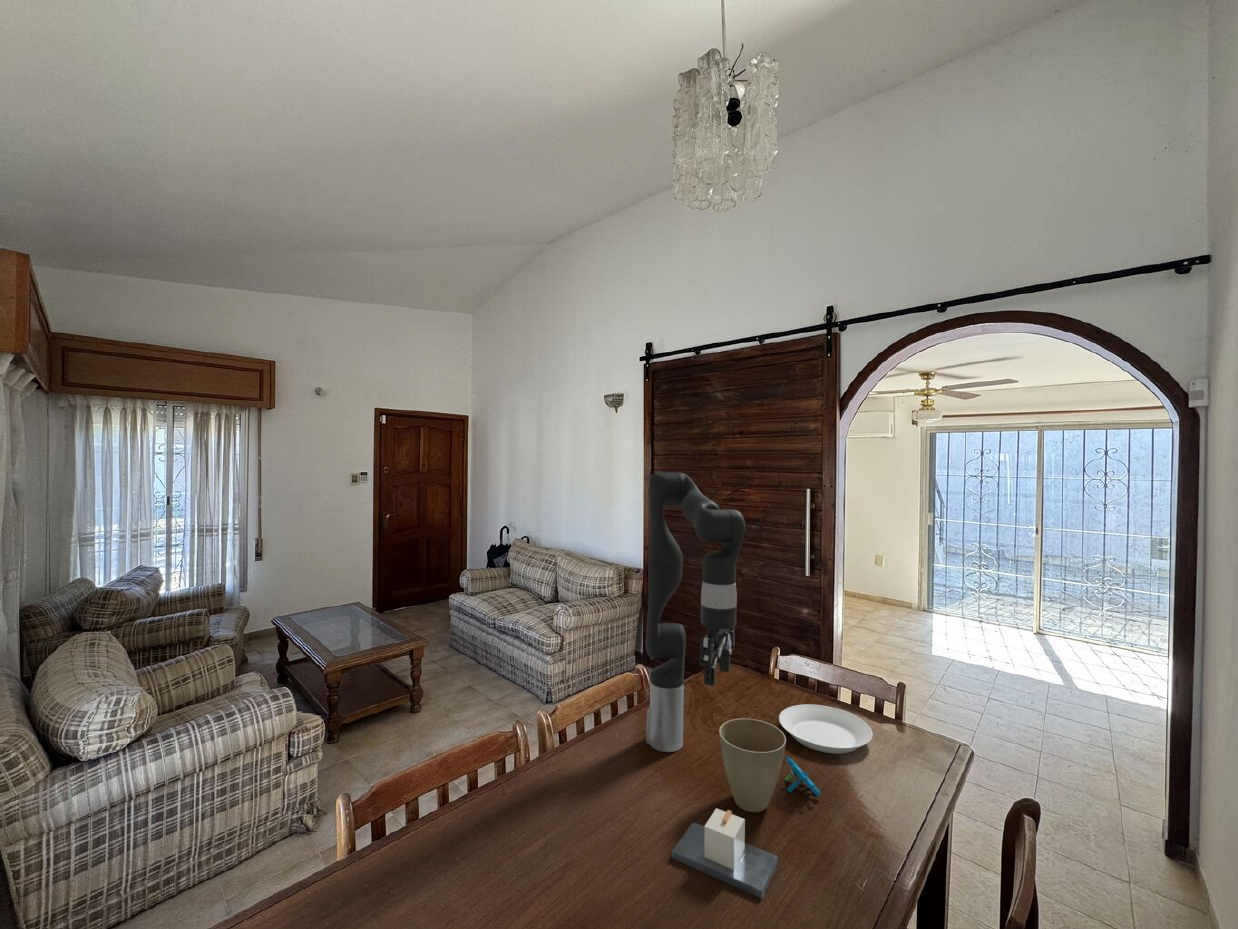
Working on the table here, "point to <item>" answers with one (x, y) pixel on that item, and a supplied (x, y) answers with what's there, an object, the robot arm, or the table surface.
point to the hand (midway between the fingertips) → (717, 677)
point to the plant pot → (752, 760)
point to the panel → (746, 876)
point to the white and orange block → (724, 838)
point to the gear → (799, 777)
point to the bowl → (825, 728)
